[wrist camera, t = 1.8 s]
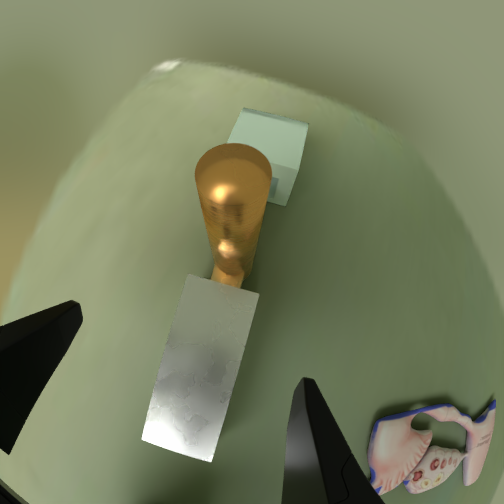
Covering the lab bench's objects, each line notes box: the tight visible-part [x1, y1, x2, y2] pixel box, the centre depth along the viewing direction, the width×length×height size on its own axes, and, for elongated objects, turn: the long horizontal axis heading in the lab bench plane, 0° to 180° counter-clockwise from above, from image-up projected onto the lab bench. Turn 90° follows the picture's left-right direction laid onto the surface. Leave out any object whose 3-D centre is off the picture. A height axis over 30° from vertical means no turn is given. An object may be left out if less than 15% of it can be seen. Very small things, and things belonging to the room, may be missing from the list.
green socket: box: [227, 108, 309, 207], centre depth 24 cm, size 6×6×6 cm
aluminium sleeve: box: [142, 274, 259, 462], centre depth 18 cm, size 12×5×5 cm, turn 165°
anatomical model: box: [367, 400, 496, 495], centre depth 17 cm, size 20×3×15 cm
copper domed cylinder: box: [195, 143, 272, 289], centre depth 15 cm, size 20×3×13 cm, turn 165°
